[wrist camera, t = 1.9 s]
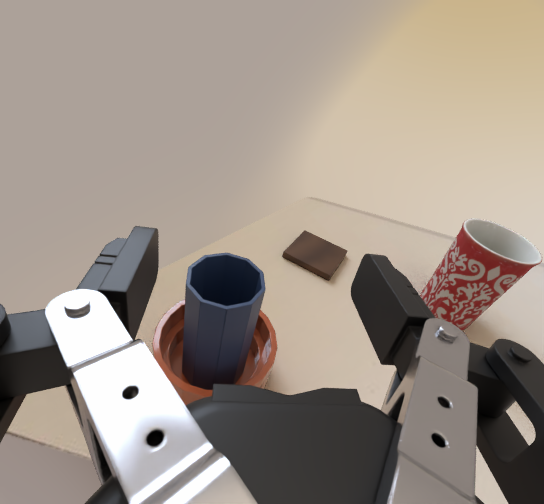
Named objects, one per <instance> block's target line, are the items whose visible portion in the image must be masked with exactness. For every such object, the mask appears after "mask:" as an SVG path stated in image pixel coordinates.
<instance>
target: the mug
mask: <svg viewBox="0 0 544 504" xmlns="http://www.w3.org/2000/svg"><path fill="white" fill-rule="evenodd" d="M541 262H542V256H541V253H540V252H539V250H538V249H537V248H536V247H535V246H534V245H533V244H532V243H531V242H530V241H528V240H527V239H526V238H524V237H523V236H521V235H520V234H518V233H516V232H515V231H512V230H511V229H509V228H506V227H504V226H502V225H499V224H497V223H494V222H491V221H487V220H482V219H468V220H466V221H465V222H464V223H463V225H462V229H461V230H460V232H459V234H458V235H457V237H456V239H455V240H454V242H453V243H452V245H451V247H450V248H449V250H448V251H447V253H446V255H445V256H444V258H443V260H442V261H441V263H440V264H439V266H438V268H437V269H436V271H435V273H434V274H433V276H432V277H431V279H430V281H429V282H428V284H427V285H426V287H425V288H424V290H423V291H422V293H421V295H420V297H421V298H422V299H423V301H424V302H425V304H426V305H427V306H428V308H429V309H430V310H431V312H432V313H433V315H434V316H435V317H436V318H439V319H443V320H446V321H448V322H450V323H452V324H454V325H455V326H457V327H458V328H459V329H460V330H464V329H466V328H467V327H468V326H469V325H470V324H471V323H472V322H473V321H474V320H475V319H477V318H478V317H479V316H480V315H481V314H482V313H483V312H484V311H485V310H486V309H487V308H488V307H490V306H491V305H492V304H493V303H494V302H495V301H496V300H497V299H498V298H499V297H501V296H502V295H503V294H504V293H505V292H506V291H507V290H508V289H509V288H510V287H512V286H513V285H514V284H515V283H516V282H517V281H518V280H519V279H520V278H522V277H523V276H524V275H525V274H526V273H527V272H528V271H529V270H530V269H531V268H532V267H534V266H536V265H538V264H540V263H541Z"/></svg>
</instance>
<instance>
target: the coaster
mask: <svg viewBox="0 0 544 504" xmlns="http://www.w3.org/2000/svg"><path fill="white" fill-rule="evenodd" d="M346 253H347V250H345V249H343V248H341V247H338V246H336V245H334V244H332V243H330V242H328V241H326V240H324V239H322V238H320V237H318V236H315V235H313V234H311V233H309V232H307V231H304V232H303V233H302V234H301V235H300V236H299V237H298V238H297V239H296V240H295V241H294V242H293V243H292V244H291V245H290V246H289V247H288V248H287V249H286V250H285V251H284V252H283V256H282V257H284V258H286V259H288V260H290V261H292V262H294V263H296V264H298V265H300V266H302V267H303V268H305V269H307V270H309V271H311V272H313V273H315V274H317V275H319V276H321V277H323V278H325V279H327V280H330V278H331V277H332V275H333V274H334V272H335V271H336V269H337V268H338V266H339V265H340V263H341V262H342V260H343V258H344V257H345V255H346Z"/></svg>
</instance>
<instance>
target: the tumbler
mask: <svg viewBox="0 0 544 504" xmlns="http://www.w3.org/2000/svg"><path fill="white" fill-rule="evenodd" d="M264 293H265V282H264V274H263V272H262V271H261V270H260V269H259V268H258V267H257V266H256V265H255V264H253V263H252V262H251V261H250V260H249V259H247V258H243V257H240V256H237V255H233V254H230V253H220V254H212V255H205V256H203V257H202V258H200V259H199V260H197V261H196V262H195V263H193V264H192V265H191V266H189V267H188V273H187V280H186V294H185V315H184V337H183V359H182V373H183V374H184V376H185V377H186V379H187V380H188V382H189V383H190V385H192V386H196V387H199V388H202V389H205V390H213V384H232V385H234V384H235V383H236V382H237V380H238V379H239V378H240V376H241V375H242V374H243V372H244V368H245V364H246V360H247V357H248V353H249V349H250V345H251V342H252V338H253V334H254V330H255V327H256V323H257V319H258V315H259V312H260V308H261V304H262V300H263V297H264Z"/></svg>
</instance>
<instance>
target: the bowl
mask: <svg viewBox="0 0 544 504" xmlns="http://www.w3.org/2000/svg"><path fill="white" fill-rule="evenodd" d="M184 315H185V300H183V301H180V302H178V303H177V304H176V305H174V306H173V307H172V308H171V309H170V310H168V311H167V312H166V313H165V314H164V316H163V317H162V319H161V320H160V322H159V323H158V325H157V327H156V329H155V334H154V338H153V343H152V348H153V357H154V358H155V360H156V362H157V363H158V365H159V366H160V368H161V369H162V371H163V372H164V374H165V375H166V377H167V378H168V380H169V381H170V383H171V384H172V386H173V388H174V389H175V391H176V392H177V394H178V395H179V397H180V398H181V400H182V401H183V403H184V404H185V405H187V404H189V403H192V402H194V401H196V400H199V399H202V398H205V397H209V396H212V391H213V390H205V389H202V388H199V387H196V386H192V385H190V383H189V382H188V380H187V379H186V377H185V376H184V374H183V373H182V359H183V337H184ZM276 351H277V341H276V334H275V330H274V328H273V326H272V324H271V322H270V321H269V319H268V317H267V316H266V315H265V314H264V313H263V312H262V311H261V310H260V312H259V315H258V319H257V323H256V327H255V330H254V334H253V338H252V342H251V345H250V349H249V353H248V357H247V360H246V364H245V368H244V372H243V374H242V375H241V376H240V378H239V379H238V380H237V382H236V383H235V384H234V385H252V386H255V387H259V388H263V389H264V388H265V386H266V383H267V380H268V377H269V375H270V372H271V369H272V366H273V364H274V360H275V355H276Z"/></svg>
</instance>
